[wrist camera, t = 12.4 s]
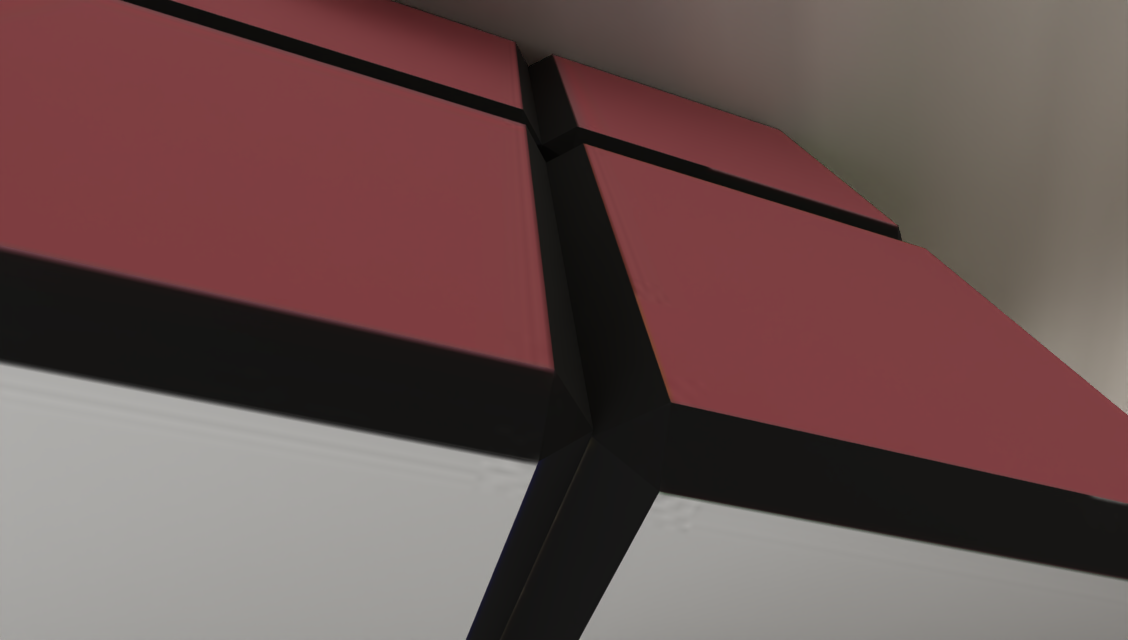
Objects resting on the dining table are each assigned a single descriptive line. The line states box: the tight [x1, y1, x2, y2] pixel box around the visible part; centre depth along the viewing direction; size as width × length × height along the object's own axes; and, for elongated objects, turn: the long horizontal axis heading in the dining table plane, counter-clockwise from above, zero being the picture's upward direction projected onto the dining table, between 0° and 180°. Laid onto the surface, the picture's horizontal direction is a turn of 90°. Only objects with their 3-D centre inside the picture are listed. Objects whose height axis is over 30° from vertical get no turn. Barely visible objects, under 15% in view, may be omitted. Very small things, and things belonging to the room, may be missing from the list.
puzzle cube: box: [0, 0, 1128, 640], centre depth 10 cm, size 10×10×10 cm
